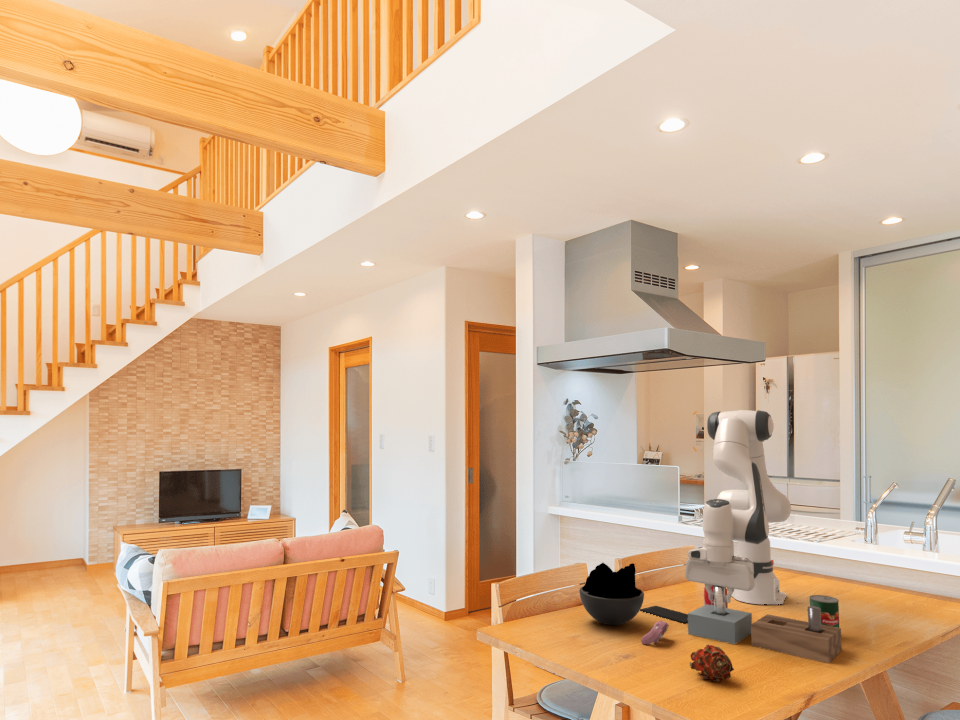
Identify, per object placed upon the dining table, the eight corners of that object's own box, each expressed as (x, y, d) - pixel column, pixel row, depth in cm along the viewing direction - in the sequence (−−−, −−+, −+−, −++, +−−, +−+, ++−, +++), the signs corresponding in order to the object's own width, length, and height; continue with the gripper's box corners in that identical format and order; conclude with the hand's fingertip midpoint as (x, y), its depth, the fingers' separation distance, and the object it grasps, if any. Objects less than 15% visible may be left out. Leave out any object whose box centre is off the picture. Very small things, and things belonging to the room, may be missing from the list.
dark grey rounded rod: (811, 649, 187) (809, 605, 189) (823, 652, 185) (821, 607, 187) (807, 652, 185) (806, 607, 186) (820, 655, 183) (818, 610, 184)
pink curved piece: (653, 652, 188) (664, 631, 187) (639, 642, 190) (649, 621, 189) (663, 643, 196) (673, 622, 195) (649, 633, 199) (659, 613, 198)
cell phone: (684, 625, 210) (684, 622, 210) (639, 612, 224) (639, 609, 224) (701, 620, 215) (701, 617, 215) (655, 608, 230) (655, 605, 230)
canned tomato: (830, 641, 195) (829, 603, 196) (804, 634, 201) (803, 597, 202) (845, 637, 199) (844, 599, 200) (820, 630, 205) (818, 593, 206)
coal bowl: (571, 627, 205) (571, 565, 206) (589, 611, 223) (589, 554, 224) (636, 637, 196) (636, 572, 198) (650, 620, 214) (649, 560, 216)
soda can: (702, 622, 212) (702, 583, 213) (706, 616, 218) (705, 579, 220) (726, 625, 209) (725, 586, 210) (729, 620, 215) (728, 581, 216)
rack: (768, 634, 200) (767, 614, 201) (841, 650, 187) (840, 628, 188) (751, 646, 190) (751, 624, 190) (828, 663, 177) (827, 639, 177)
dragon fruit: (731, 695, 159) (693, 685, 169) (747, 667, 163) (710, 660, 173) (712, 667, 158) (675, 659, 168) (729, 640, 162) (692, 634, 172)
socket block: (706, 623, 211) (706, 604, 211) (752, 633, 201) (751, 612, 202) (688, 633, 200) (687, 613, 201) (734, 644, 191) (734, 622, 192)
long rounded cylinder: (716, 631, 203) (715, 577, 205) (727, 633, 201) (726, 579, 202) (712, 633, 201) (711, 579, 202) (723, 636, 198) (722, 581, 200)
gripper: (757, 557, 199) (758, 605, 197) (691, 548, 212) (691, 593, 211) (749, 560, 194) (750, 609, 193) (682, 551, 207) (683, 596, 206)
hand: (719, 600), depth 202 cm, fingers closed on long rounded cylinder, 3 cm apart
